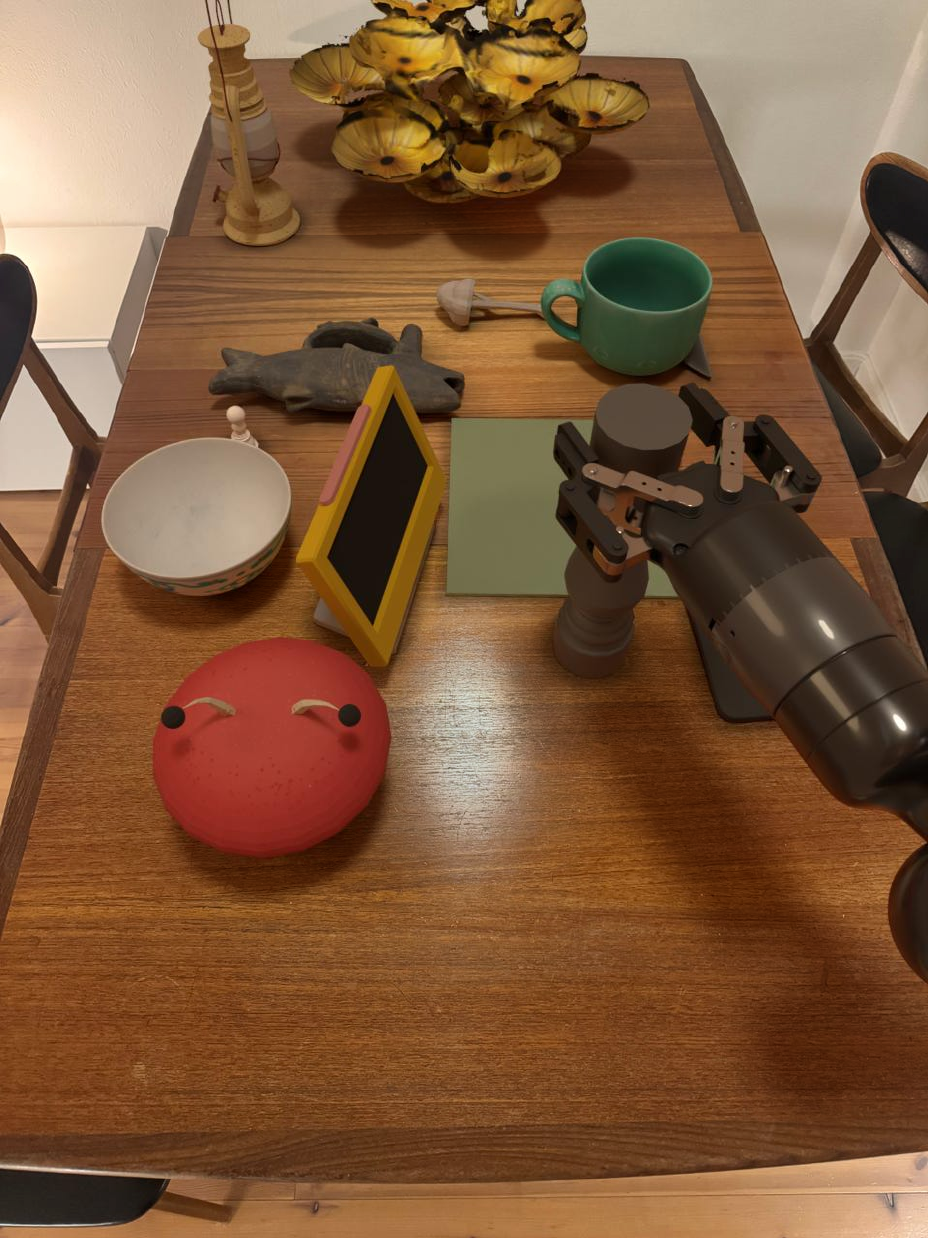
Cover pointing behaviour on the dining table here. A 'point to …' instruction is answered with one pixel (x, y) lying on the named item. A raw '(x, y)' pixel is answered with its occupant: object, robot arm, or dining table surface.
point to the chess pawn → (239, 426)
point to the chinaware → (199, 515)
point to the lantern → (245, 141)
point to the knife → (698, 358)
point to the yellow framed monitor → (374, 522)
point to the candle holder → (623, 441)
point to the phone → (727, 684)
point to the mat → (512, 511)
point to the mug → (635, 304)
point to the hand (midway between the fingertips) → (623, 413)
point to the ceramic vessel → (341, 370)
